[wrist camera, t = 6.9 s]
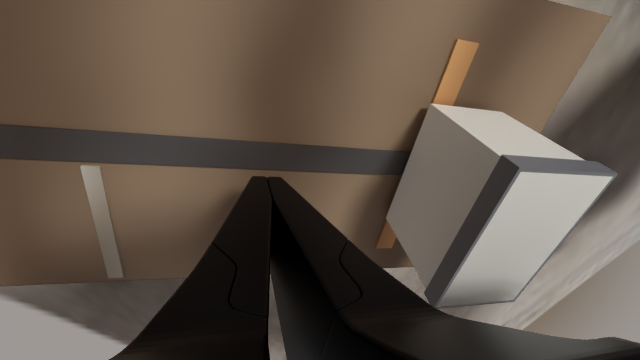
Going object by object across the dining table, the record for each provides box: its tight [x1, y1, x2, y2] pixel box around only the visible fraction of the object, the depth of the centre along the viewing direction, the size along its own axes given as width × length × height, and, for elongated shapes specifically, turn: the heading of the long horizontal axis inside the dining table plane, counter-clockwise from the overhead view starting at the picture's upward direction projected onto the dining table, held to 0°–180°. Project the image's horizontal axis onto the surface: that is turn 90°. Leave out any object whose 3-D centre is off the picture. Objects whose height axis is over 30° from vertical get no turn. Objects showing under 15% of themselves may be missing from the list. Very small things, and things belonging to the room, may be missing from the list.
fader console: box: [0, 0, 611, 286], centre depth 12 cm, size 20×12×2 cm, turn 79°
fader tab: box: [386, 103, 619, 309], centre depth 11 cm, size 3×5×4 cm, turn 169°
